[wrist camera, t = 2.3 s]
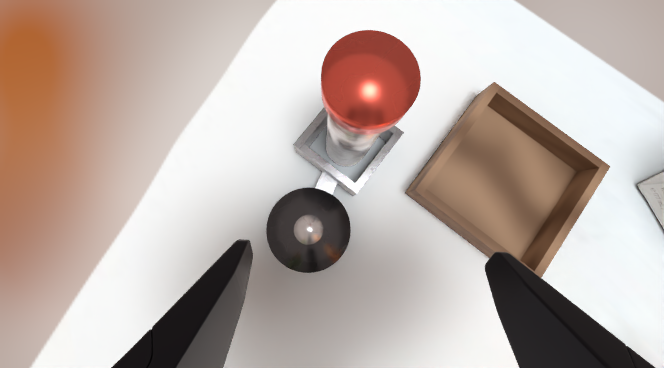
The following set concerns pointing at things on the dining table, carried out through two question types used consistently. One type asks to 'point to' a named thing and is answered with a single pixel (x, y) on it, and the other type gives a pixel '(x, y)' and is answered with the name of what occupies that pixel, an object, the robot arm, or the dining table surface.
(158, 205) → the dining table surface
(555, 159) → the tray
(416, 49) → the dining table surface
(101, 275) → the dining table surface
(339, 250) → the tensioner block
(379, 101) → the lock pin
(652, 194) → the skincare box
